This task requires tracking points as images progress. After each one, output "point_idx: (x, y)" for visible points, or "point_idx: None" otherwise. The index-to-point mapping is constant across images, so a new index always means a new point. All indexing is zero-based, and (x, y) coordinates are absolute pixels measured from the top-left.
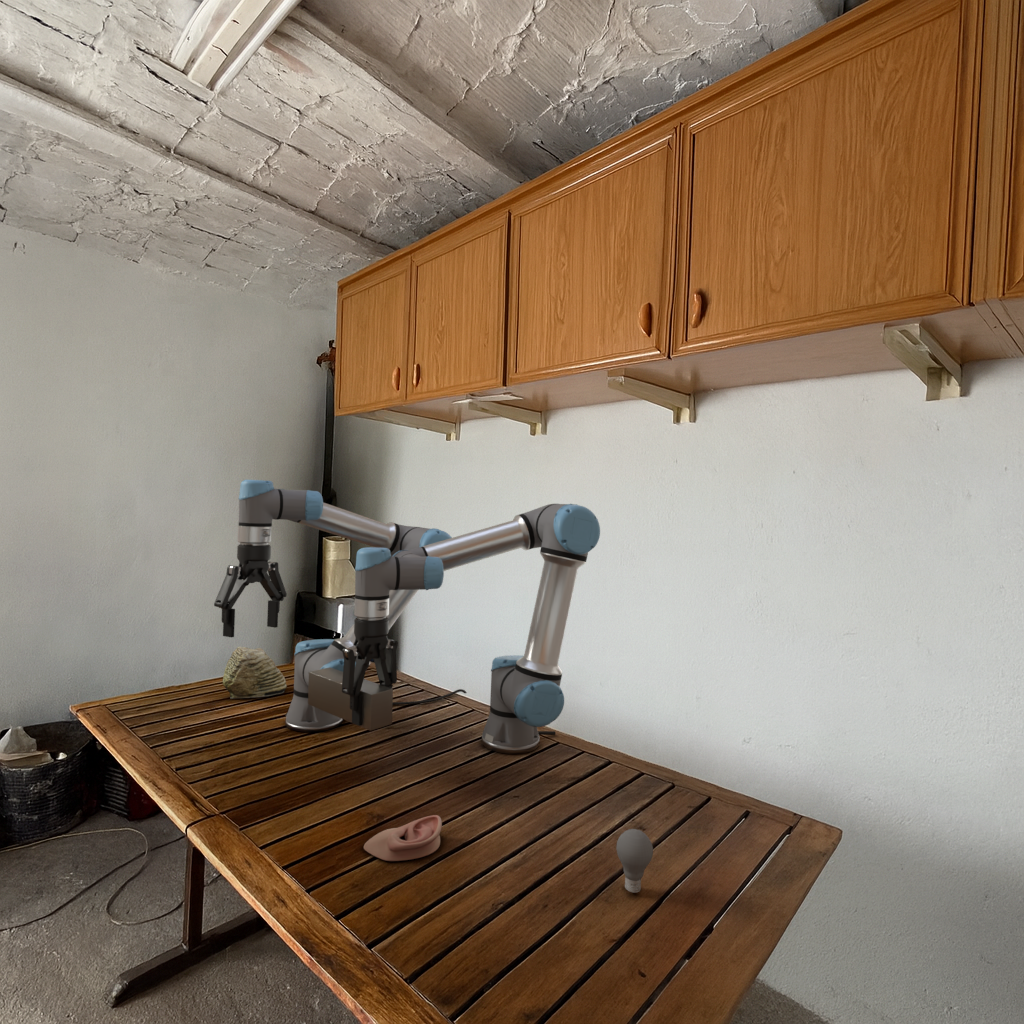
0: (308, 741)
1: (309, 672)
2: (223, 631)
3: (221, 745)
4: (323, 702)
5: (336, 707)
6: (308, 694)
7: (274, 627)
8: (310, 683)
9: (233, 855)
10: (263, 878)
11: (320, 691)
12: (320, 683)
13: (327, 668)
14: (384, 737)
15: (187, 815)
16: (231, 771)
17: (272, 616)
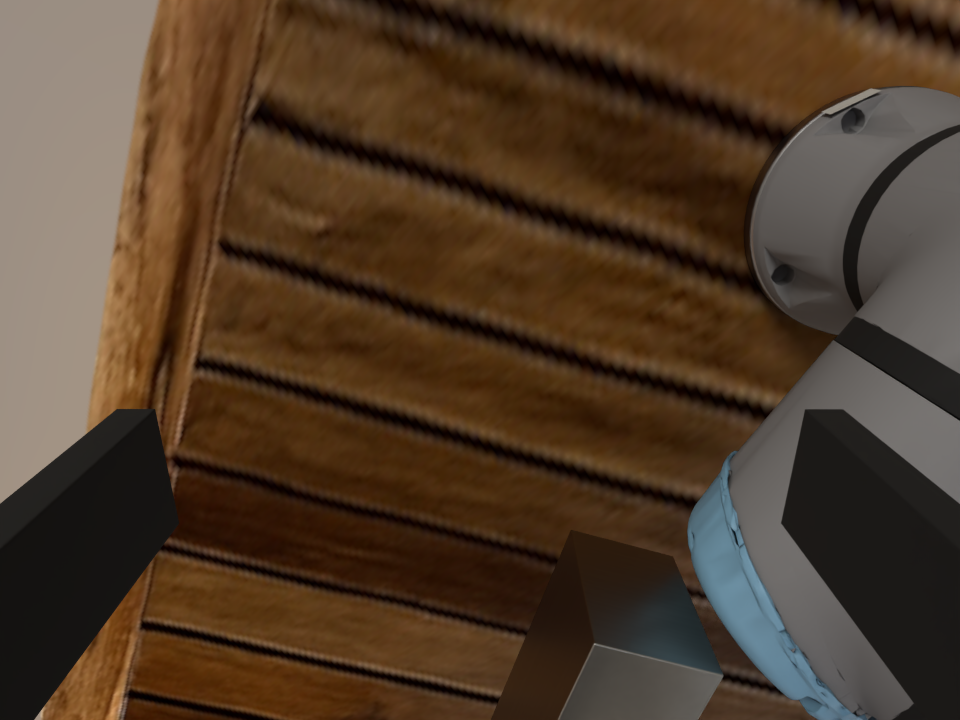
0: (675, 328)
1: (591, 647)
2: (86, 441)
3: (496, 66)
4: (535, 646)
5: (506, 714)
6: (576, 559)
7: (784, 511)
8: (578, 613)
9: None
10: (84, 687)
11: (547, 662)
12: (551, 693)
13: (695, 679)
14: None
15: (111, 401)
16: (353, 290)
17: (863, 569)
